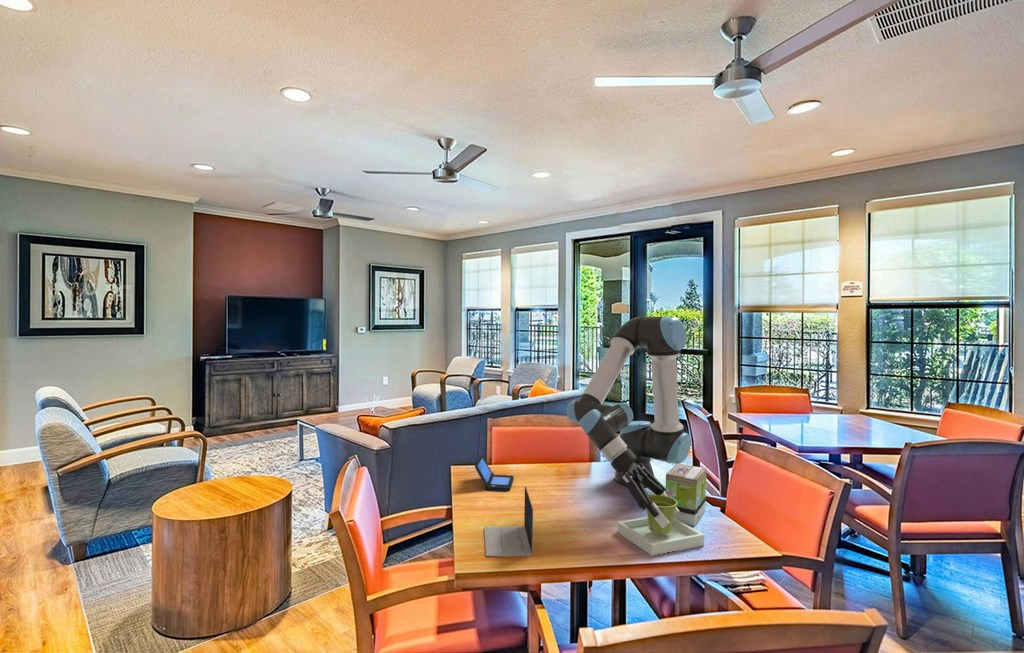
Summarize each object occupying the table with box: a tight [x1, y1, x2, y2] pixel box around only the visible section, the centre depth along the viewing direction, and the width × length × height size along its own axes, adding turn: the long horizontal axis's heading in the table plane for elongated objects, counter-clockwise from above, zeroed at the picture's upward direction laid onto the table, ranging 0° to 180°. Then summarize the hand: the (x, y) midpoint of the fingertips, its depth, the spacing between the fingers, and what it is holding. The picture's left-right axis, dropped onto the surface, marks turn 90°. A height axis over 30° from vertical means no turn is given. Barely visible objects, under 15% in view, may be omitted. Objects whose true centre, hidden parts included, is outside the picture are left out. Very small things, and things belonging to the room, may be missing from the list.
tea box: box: [664, 463, 708, 527], centre depth 161 cm, size 15×10×15 cm
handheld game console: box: [474, 455, 515, 492], centre depth 189 cm, size 16×13×9 cm
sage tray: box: [617, 516, 705, 557], centre depth 144 cm, size 18×16×3 cm
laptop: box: [483, 486, 534, 558], centre depth 141 cm, size 18×12×13 cm
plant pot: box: [646, 494, 677, 534], centre depth 144 cm, size 9×9×9 cm
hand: (671, 519), depth 142 cm, fingers closed on plant pot, 9 cm apart
